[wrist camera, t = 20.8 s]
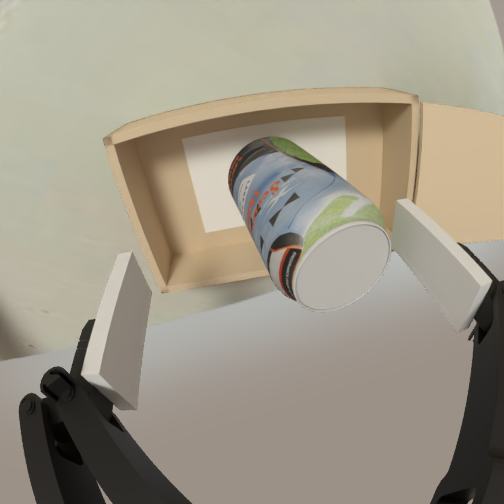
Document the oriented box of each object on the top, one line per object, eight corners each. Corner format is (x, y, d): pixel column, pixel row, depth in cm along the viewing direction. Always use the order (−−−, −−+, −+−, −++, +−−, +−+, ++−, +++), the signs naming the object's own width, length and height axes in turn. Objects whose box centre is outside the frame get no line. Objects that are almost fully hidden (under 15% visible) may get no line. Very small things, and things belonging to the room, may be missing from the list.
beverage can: (224, 135, 19) (233, 214, 9) (325, 132, 19) (422, 205, 10) (230, 212, 23) (242, 336, 13) (319, 206, 23) (385, 315, 13)
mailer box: (168, 258, 25) (161, 293, 22) (125, 124, 18) (102, 138, 14) (381, 220, 25) (404, 248, 21) (384, 87, 18) (418, 95, 14)
